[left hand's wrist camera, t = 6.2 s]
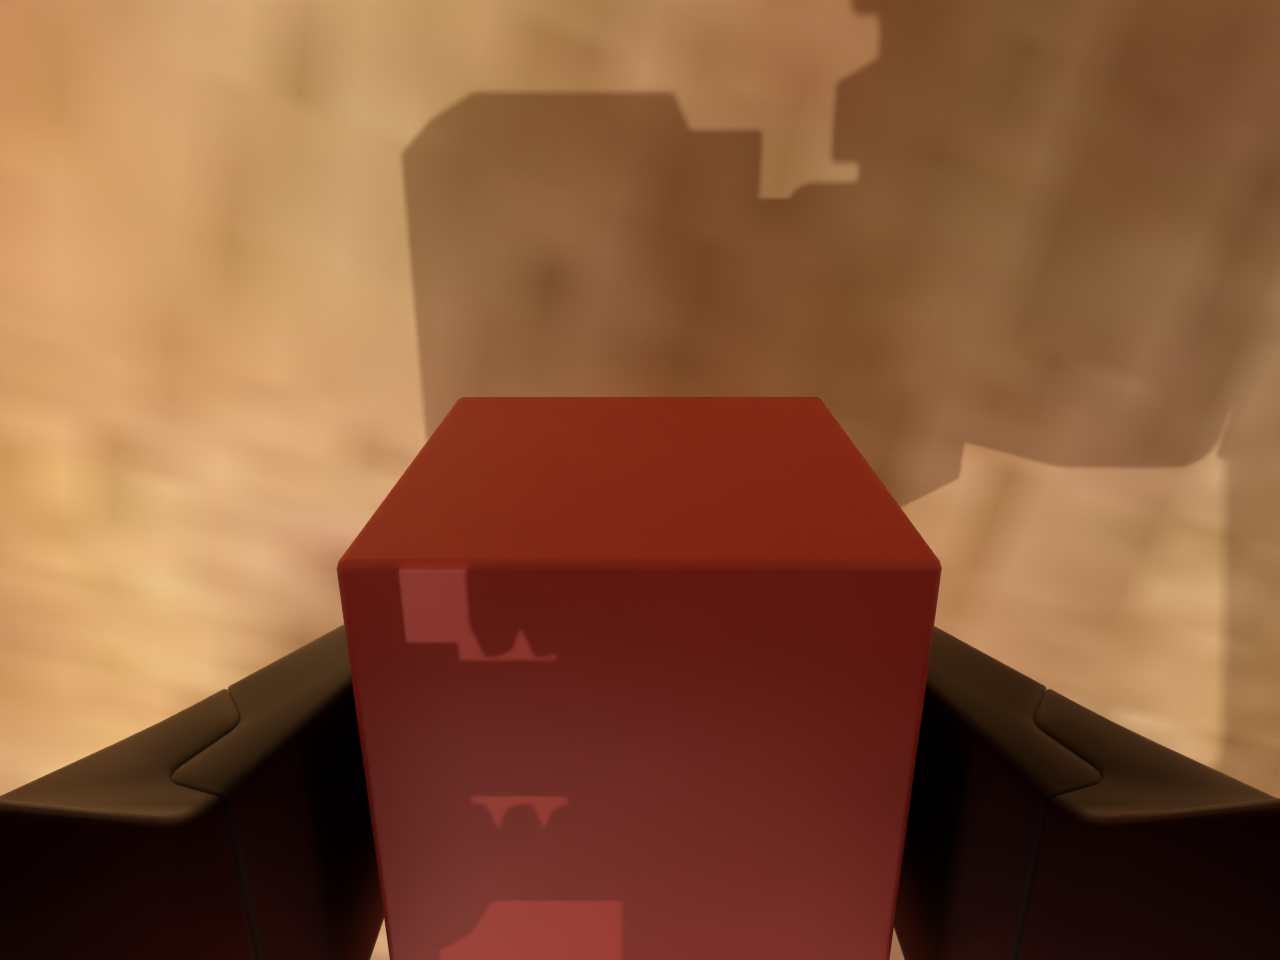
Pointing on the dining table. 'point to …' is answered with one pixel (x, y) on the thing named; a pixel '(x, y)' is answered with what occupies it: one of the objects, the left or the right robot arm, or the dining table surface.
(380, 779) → the block
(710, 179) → the dining table surface
